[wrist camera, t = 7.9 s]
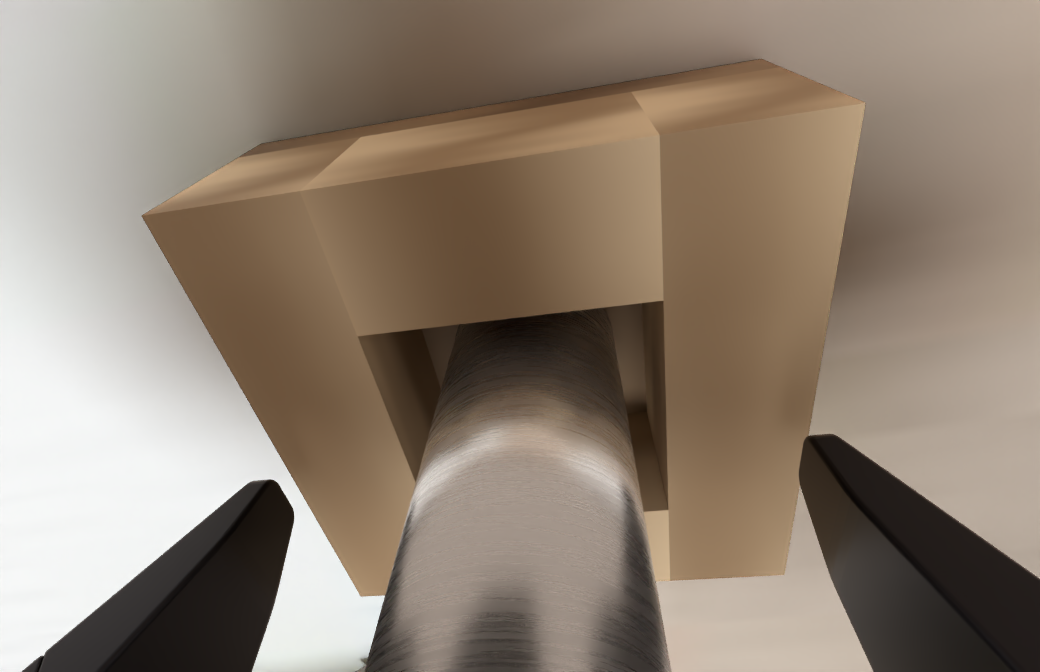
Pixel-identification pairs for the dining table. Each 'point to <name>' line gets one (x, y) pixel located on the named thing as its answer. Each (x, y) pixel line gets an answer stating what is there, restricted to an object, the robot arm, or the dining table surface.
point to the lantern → (362, 670)
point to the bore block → (540, 290)
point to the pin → (526, 514)
